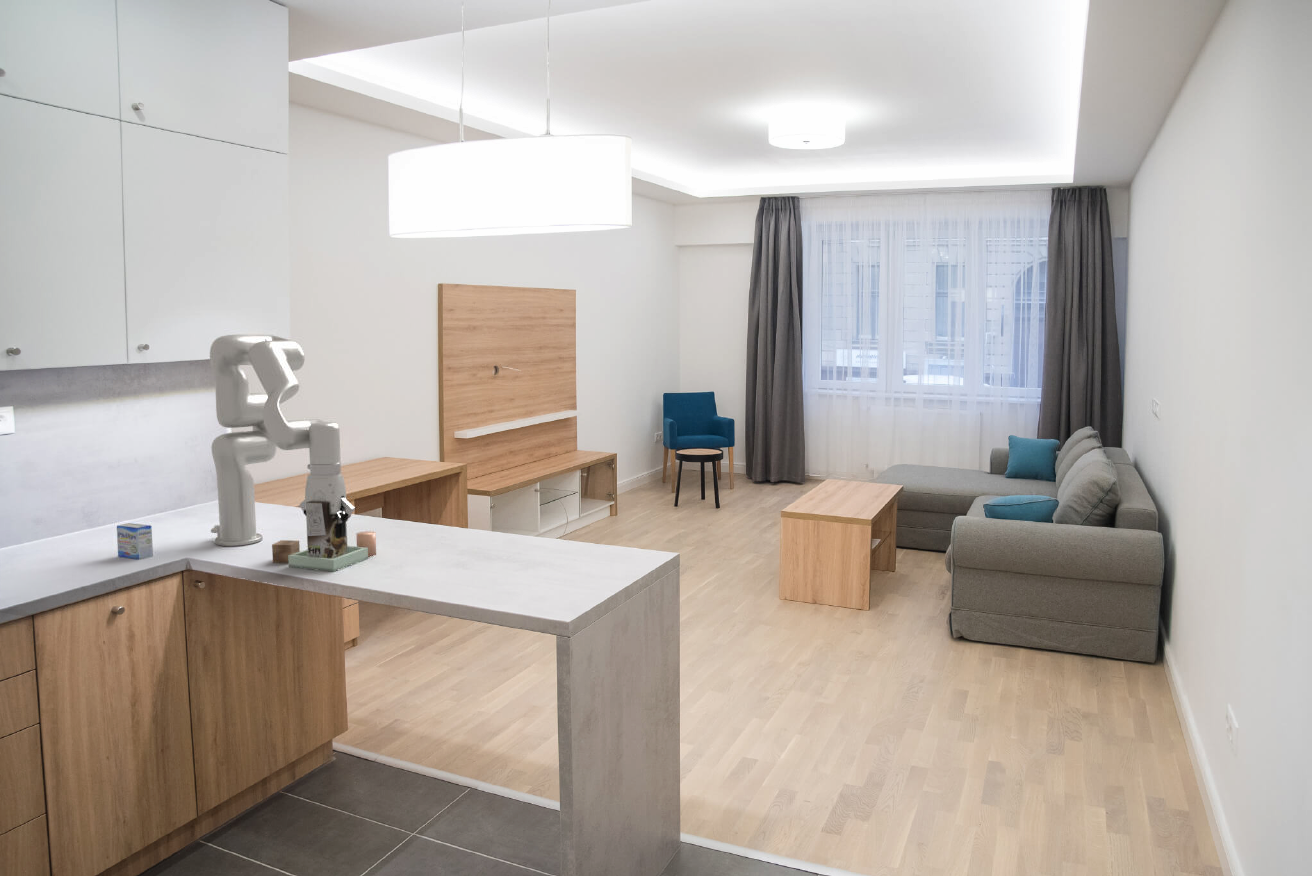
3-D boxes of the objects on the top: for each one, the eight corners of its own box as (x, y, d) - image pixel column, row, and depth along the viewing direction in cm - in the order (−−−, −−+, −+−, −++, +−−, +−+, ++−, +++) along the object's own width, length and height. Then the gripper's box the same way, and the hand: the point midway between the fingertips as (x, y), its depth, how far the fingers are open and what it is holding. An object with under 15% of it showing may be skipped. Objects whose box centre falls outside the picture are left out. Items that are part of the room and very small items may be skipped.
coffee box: (329, 564, 233) (326, 502, 231) (307, 563, 234) (304, 501, 233) (349, 556, 242) (346, 496, 240) (328, 555, 243) (325, 496, 242)
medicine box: (117, 557, 242) (115, 525, 241) (132, 553, 247) (130, 522, 246) (139, 559, 240) (137, 527, 239) (153, 556, 244) (151, 524, 243)
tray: (288, 566, 233) (288, 555, 233) (324, 554, 247) (324, 543, 246) (334, 571, 229) (333, 560, 229) (368, 558, 242) (367, 547, 242)
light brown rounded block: (353, 556, 245) (352, 534, 244) (364, 552, 250) (363, 530, 249) (368, 557, 243) (368, 536, 243) (380, 553, 248) (379, 532, 247)
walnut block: (272, 563, 237) (272, 544, 237) (281, 558, 242) (281, 540, 242) (291, 563, 237) (290, 545, 237) (299, 558, 242) (299, 540, 242)
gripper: (288, 469, 234) (290, 536, 236) (344, 473, 229) (346, 541, 231) (307, 465, 241) (310, 530, 243) (362, 469, 236) (364, 535, 238)
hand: (327, 535), depth 237 cm, fingers open, 7 cm apart
